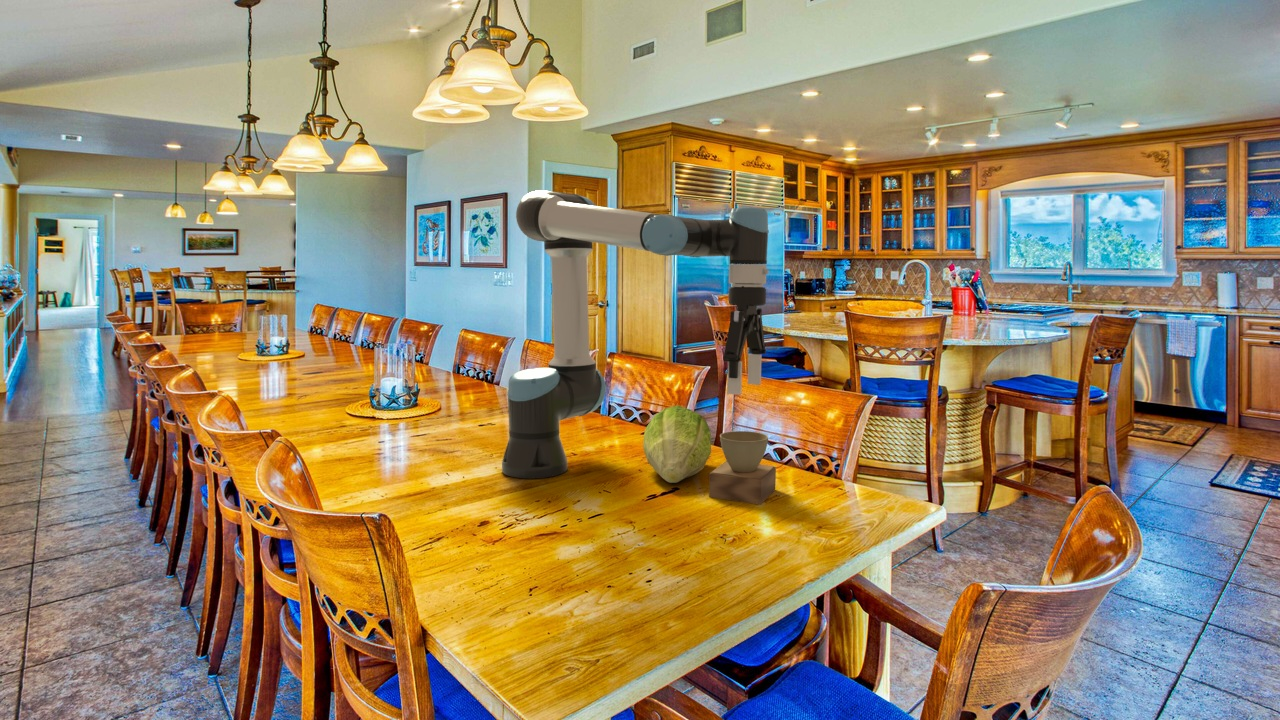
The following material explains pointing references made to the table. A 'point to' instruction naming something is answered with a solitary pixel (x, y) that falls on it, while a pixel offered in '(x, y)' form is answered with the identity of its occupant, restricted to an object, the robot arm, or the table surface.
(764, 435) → the flower pot
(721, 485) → the walnut block
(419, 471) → the table surface
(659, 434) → the lettuce
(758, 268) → the robot arm
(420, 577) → the table surface
